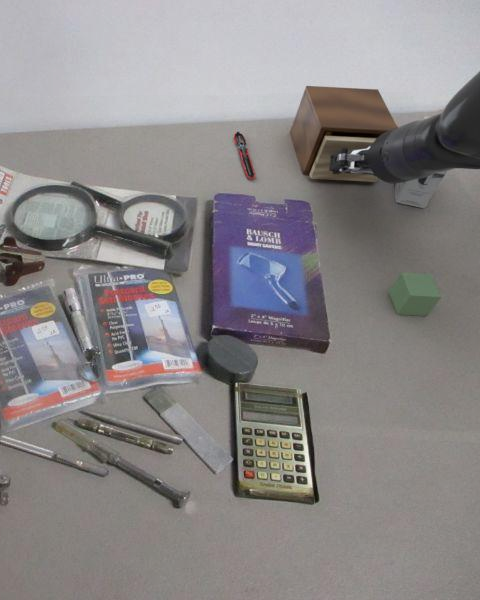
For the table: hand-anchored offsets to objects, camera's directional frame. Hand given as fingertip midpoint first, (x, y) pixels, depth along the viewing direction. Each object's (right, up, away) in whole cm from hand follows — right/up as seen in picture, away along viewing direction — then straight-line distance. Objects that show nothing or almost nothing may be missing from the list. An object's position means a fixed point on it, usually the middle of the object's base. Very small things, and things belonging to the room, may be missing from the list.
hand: (355, 168), depth 97 cm
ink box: (+11, -3, +5) cm, 12 cm away
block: (+2, -22, -12) cm, 25 cm away
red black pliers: (-16, +4, +9) cm, 19 cm away
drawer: (0, +2, +6) cm, 7 cm away
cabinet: (0, +5, +10) cm, 12 cm away
